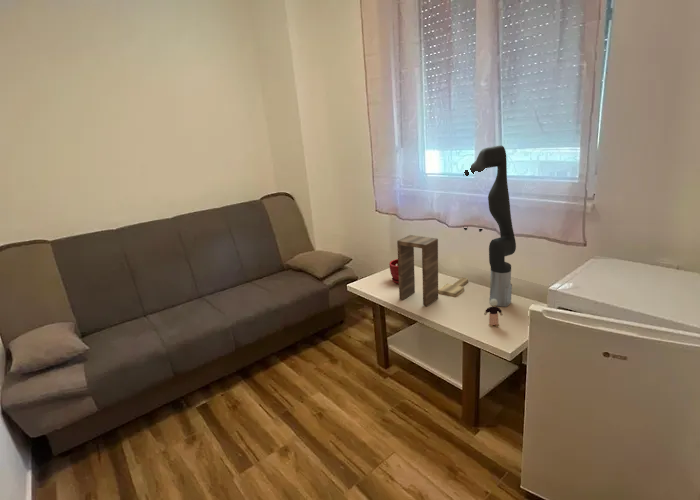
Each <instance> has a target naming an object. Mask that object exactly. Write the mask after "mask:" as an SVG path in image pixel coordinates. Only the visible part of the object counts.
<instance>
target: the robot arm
mask: <svg viewBox="0 0 700 500" xmlns="http://www.w3.org/2000/svg"><path fill="white" fill-rule="evenodd" d="M506 153H507V152H506V148H505V146H503V145H496V146H494V145H493V146H489V147H484V148H482V149H481V150H480V151H479V153H478V154H477V155H478V156H477V157H476V160H475V161H473V163H472V164H470V165H471V168H470V170H471V172H472V173H473V174H474V172H475V171H478V172H481V171H483V170H484V169H485V168H487V169H490V168H496V167H497V170H496V171H497V172H496V177H495V180H494V182H493V184H492V185H491V188H490V190H489V193H488V196H487V200H488V201H487V202H488V210H489V213H490V215H491V216H492V218H493V219H494V220H495V222H496V223H497V225H498V228H499V234H500V237H496V238H494V239H492V240H491V241H490V242H489V246H488V262H489V266H490V277H489V279H490V281H489V283H490V286H489V301H490V300H491V299H496V300H497V302H498V304H497V306H496V307H507V308H508V306H509V305H510V304H512V291H513V290H512V289H513V288H512V287H513V284H511V280H512V265H511V264H510V263H509V262H507V261H506V259H505V258H506V257H507V256H511V255H513V254H515V252H516V250H517V249H516V248H517V243H516V238H515V234H514V233H515V232H514V228H513V222H512V215H511V203H510V202H511V201H510V193H509V186H508V175H507V174H508V170H507V169H508V167H507V163H508V162H507V154H506ZM464 173H465V175H466V176H468V175H469V172H468V170H465V172H464ZM463 230H464V231H467V230H468V227H467V228H464V227H463ZM482 231H483V229H479V228H478V232H480V233H482Z"/></svg>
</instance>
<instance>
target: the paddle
mask: <svg viewBox="0 0 700 500" xmlns="http://www.w3.org/2000/svg"><path fill="white" fill-rule="evenodd" d="M468 283H469V277H468V278H467V277H461V278H459V279H458V280H457V281H455V282H454V283H453V284H452V283H451V284H450V283H445V284H444V285H443V286H442V287H440V288H438V294H441V295H445V296H448V297H449V296H450V297H454V298H456V297H458V296H459V295H461V293H463V292H465V287H464V286H465V285H466V284H468Z"/></svg>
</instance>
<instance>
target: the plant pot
mask: <svg viewBox="0 0 700 500" xmlns="http://www.w3.org/2000/svg"><path fill="white" fill-rule="evenodd" d="M389 271H390V275H391V277H392V278H391V279H392V282H393V283H394V284H396V285H397V284H398V285H399V273H398V258H396V259H393V260H391V261H390V262H389Z"/></svg>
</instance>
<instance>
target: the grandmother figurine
mask: <svg viewBox="0 0 700 500" xmlns="http://www.w3.org/2000/svg"><path fill="white" fill-rule="evenodd" d="M497 304H498V302H497V300H496V299H491V300H490V299H489V305H490V307H487V308H486V309H485V311H484V314H483V315H484V316H486V315H488V313H489V316H488V317H489V318H488V323H489V324H488V326H489V327H490V328H499V327H500V324H499V314H500V316H501V317H503V315H504V314H503V312H502V309H500V308H499V306H497ZM493 326H494V327H493ZM498 326H499V327H498Z"/></svg>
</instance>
